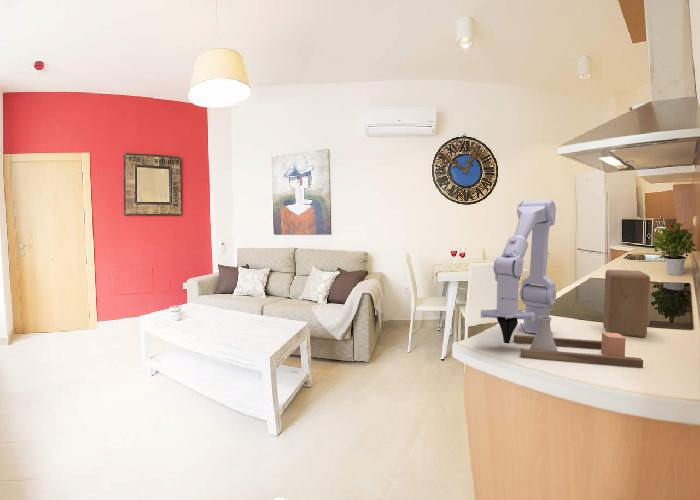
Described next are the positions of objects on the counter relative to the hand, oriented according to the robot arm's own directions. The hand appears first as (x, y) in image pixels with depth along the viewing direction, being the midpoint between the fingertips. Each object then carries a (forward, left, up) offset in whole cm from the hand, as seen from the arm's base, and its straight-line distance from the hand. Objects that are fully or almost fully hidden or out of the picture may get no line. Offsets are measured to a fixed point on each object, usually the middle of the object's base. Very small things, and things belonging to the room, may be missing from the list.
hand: (506, 342), depth 102 cm
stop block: (0, +27, -2) cm, 27 cm away
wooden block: (-24, +39, -2) cm, 46 cm away
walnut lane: (0, +17, -2) cm, 17 cm away
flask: (0, +10, -2) cm, 10 cm away
